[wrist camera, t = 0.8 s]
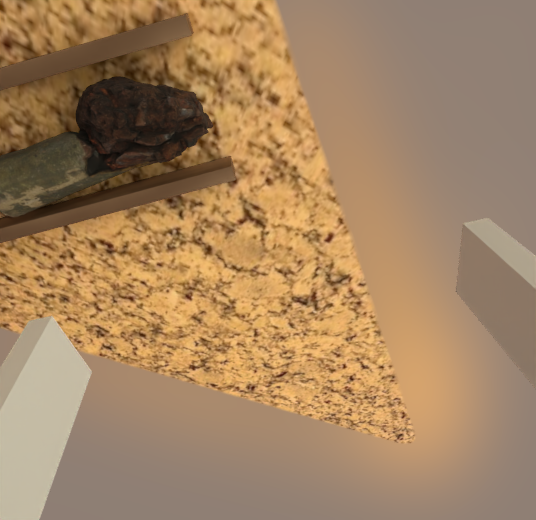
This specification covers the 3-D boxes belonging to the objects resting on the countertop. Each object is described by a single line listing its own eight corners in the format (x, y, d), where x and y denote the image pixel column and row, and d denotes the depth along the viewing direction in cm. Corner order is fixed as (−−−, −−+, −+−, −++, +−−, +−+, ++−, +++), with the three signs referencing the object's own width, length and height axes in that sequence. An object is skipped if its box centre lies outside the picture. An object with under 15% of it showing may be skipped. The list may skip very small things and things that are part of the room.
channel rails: (-177, 119, 28) (-208, 128, 26) (187, 13, 27) (185, 14, 25) (-62, 248, 35) (-79, 264, 33) (234, 168, 34) (235, 179, 31)
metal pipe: (32, 204, 34) (1, 236, 29) (-25, 131, 30) (-71, 154, 25) (217, 133, 32) (216, 155, 27) (181, 46, 28) (173, 54, 23)
